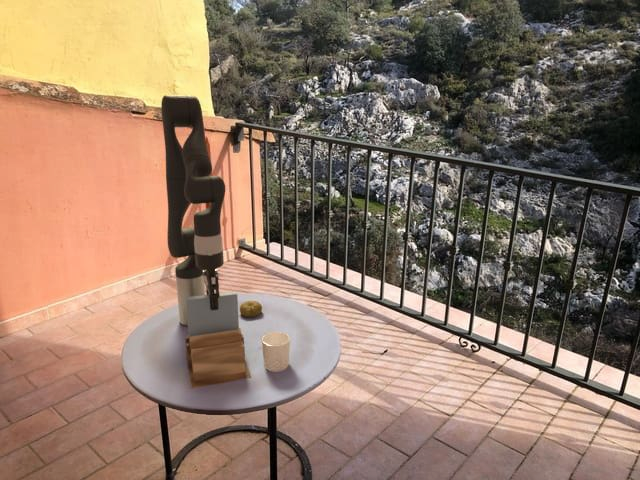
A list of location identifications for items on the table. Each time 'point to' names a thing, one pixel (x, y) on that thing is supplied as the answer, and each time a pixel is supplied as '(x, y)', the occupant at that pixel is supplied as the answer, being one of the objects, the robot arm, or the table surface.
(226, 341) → the tall oak offcut
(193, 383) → the rack
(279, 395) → the table surface
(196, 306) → the tall board
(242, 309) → the sculpture
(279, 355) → the white cup
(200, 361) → the short oak offcut
